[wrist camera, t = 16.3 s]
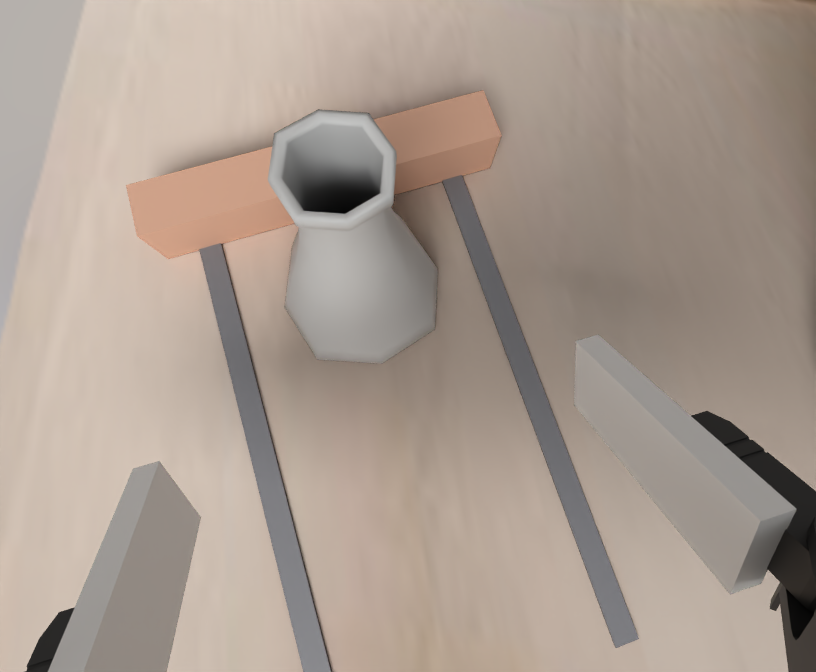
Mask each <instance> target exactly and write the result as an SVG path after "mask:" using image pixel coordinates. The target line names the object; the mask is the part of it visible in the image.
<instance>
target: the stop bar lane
mask: <svg viewBox="0 0 816 672" xmlns="http://www.w3.org/2000/svg"><path fill="white" fill-rule="evenodd" d="M373 120H374V121H375V122H376V124H377V125H378V127H379V128H380V129H381V131H382V132H383V134H384V135H385V136H386V138H387V139H388V140H389V142H390V143H391V145H392V146H393V147H394V149H395V150H396V154H397V160H396V173H395V187H394V195H396V194H400V193H403V192H407V191H410V190H414V189H418V188H421V187H425V186H428V185H432V184H435V183H439V182H443V185H444V187H445V190H446V193H447V195H448V198H449V201H450V203H451V206H452V209H453V211H454V214H455V217H456V220H457V222H458V225H459V228H460V230H461V233H462V236H463V238H464V241H465V244H466V246H467V249H468V252H469V255H470V257H471V260H472V263H473V265H474V268H475V271H476V273H477V276H478V279H479V282H480V284H481V287H482V290H483V292H484V295H485V298H486V300H487V303H488V306H489V308H490V311H491V314H492V317H493V319H494V322H495V325H496V327H497V330H498V333H499V335H500V338H501V341H502V344H503V346H504V349H505V352H506V354H507V357H508V360H509V362H510V365H511V368H512V370H513V373H514V376H515V379H516V381H517V384H518V387H519V389H520V392H521V395H522V397H523V400H524V403H525V405H526V408H527V411H528V414H529V416H530V419H531V422H532V424H533V427H534V430H535V432H536V435H537V438H538V441H539V443H540V446H541V449H542V451H543V454H544V457H545V459H546V462H547V465H548V467H549V470H550V473H551V476H552V478H553V481H554V484H555V486H556V489H557V492H558V494H559V497H560V500H561V503H562V505H563V508H564V511H565V513H566V516H567V519H568V521H569V524H570V527H571V529H572V532H573V535H574V538H575V540H576V543H577V546H578V548H579V551H580V554H581V556H582V559H583V562H584V564H585V567H586V570H587V573H588V575H589V578H590V581H591V583H592V586H593V589H594V591H595V594H596V597H597V600H598V602H599V605H600V608H601V610H602V613H603V616H604V618H605V621H606V624H607V626H608V629H609V632H610V635H611V637H612V640H613V643H614V645H615V647H616V648H617V647H620V646H622V645H625V644H627V643H630V642H632V641H635V640H637V639H639V638H638V635H637V633H636V630H635V627H634V625H633V622H632V620H631V617H630V614H629V612H628V609H627V606H626V604H625V601H624V599H623V596H622V593H621V591H620V588H619V586H618V583H617V580H616V578H615V575H614V572H613V570H612V567H611V565H610V562H609V559H608V557H607V554H606V551H605V549H604V546H603V544H602V541H601V538H600V536H599V533H598V531H597V528H596V525H595V523H594V520H593V517H592V515H591V512H590V510H589V507H588V504H587V502H586V499H585V496H584V494H583V491H582V489H581V486H580V483H579V481H578V478H577V475H576V473H575V470H574V468H573V465H572V462H571V460H570V457H569V455H568V452H567V449H566V447H565V444H564V441H563V439H562V436H561V434H560V431H559V428H558V426H557V423H556V420H555V418H554V415H553V413H552V410H551V407H550V405H549V402H548V399H547V397H546V394H545V392H544V389H543V386H542V384H541V381H540V379H539V376H538V373H537V371H536V368H535V365H534V363H533V360H532V358H531V355H530V352H529V350H528V347H527V344H526V342H525V339H524V337H523V334H522V331H521V329H520V326H519V323H518V321H517V318H516V316H515V313H514V310H513V308H512V305H511V303H510V300H509V297H508V295H507V292H506V289H505V287H504V284H503V282H502V279H501V276H500V274H499V271H498V268H497V266H496V263H495V261H494V258H493V255H492V253H491V250H490V247H489V245H488V242H487V240H486V237H485V234H484V232H483V229H482V227H481V224H480V221H479V219H478V216H477V213H476V211H475V208H474V206H473V203H472V200H471V198H470V195H469V192H468V190H467V187H466V185H465V182H464V179H463V177H462V176H464V175H467V174H471V173H474V172H478V171H481V170H485V169H488V168H490V166H491V164H492V161H493V158H494V155H495V153H496V150H497V147H498V144H499V142H500V139H501V136H502V135H501V132H500V130H499V127H498V125H497V123H496V120H495V118H494V115H493V113H492V110H491V108H490V105H489V103H488V100H487V98H486V96H485V93H484V91H483V90H482V91H478V92H474V93H470V94H467V95H463V96H459V97H455V98H452V99H448V100H444V101H440V102H437V103H433V104H429V105H425V106H422V107H418V108H414V109H410V110H407V111H403V112H399V113H395V114H392V115H388V116H384V117H380V118H377V119H373ZM271 152H272V146H271V147H268V148H264V149H260V150H256V151H253V152H249V153H245V154H241V155H238V156H234V157H230V158H226V159H223V160H219V161H215V162H211V163H208V164H204V165H200V166H196V167H193V168H189V169H185V170H181V171H178V172H174V173H170V174H166V175H163V176H159V177H155V178H151V179H148V180H144V181H140V182H136V183H133V184H129V185H126V187H127V192H128V197H129V201H130V206H131V210H132V215H133V219H134V224H135V229H136V233H137V236H138V237H139V238H140V239H142V240H143V241H144V242H146V243H147V244H148V245H150V246H151V247H153V248H154V249H155V250H157V251H158V252H159V253H161V254H162V255H164V256H165V257H166V258H168V259H170V258H174V257H177V256H181V255H184V254H188V253H191V252H195V251H198V250H200V254H201V258H202V262H203V266H204V270H205V274H206V278H207V282H208V286H209V290H210V294H211V298H212V302H213V307H214V311H215V315H216V319H217V323H218V327H219V331H220V335H221V339H222V343H223V347H224V351H225V355H226V359H227V363H228V367H229V371H230V376H231V380H232V384H233V388H234V392H235V396H236V400H237V404H238V408H239V412H240V416H241V420H242V424H243V428H244V432H245V436H246V440H247V445H248V449H249V453H250V457H251V461H252V465H253V469H254V473H255V477H256V481H257V485H258V489H259V493H260V497H261V501H262V505H263V509H264V514H265V518H266V522H267V526H268V530H269V534H270V538H271V542H272V546H273V550H274V554H275V558H276V562H277V566H278V570H279V574H280V578H281V583H282V587H283V591H284V595H285V599H286V603H287V607H288V611H289V615H290V619H291V623H292V627H293V631H294V635H295V639H296V643H297V647H298V652H299V656H300V660H301V664H302V668H303V672H331V668H330V664H329V660H328V657H327V653H326V649H325V645H324V641H323V637H322V633H321V629H320V625H319V622H318V618H317V614H316V610H315V606H314V602H313V598H312V594H311V590H310V587H309V583H308V579H307V575H306V571H305V567H304V563H303V559H302V555H301V552H300V548H299V544H298V540H297V536H296V532H295V528H294V524H293V520H292V517H291V513H290V509H289V505H288V501H287V497H286V493H285V489H284V485H283V482H282V478H281V474H280V470H279V466H278V462H277V458H276V454H275V450H274V447H273V443H272V439H271V435H270V431H269V427H268V423H267V419H266V415H265V412H264V408H263V404H262V400H261V396H260V392H259V388H258V384H257V380H256V377H255V373H254V369H253V365H252V361H251V357H250V353H249V349H248V345H247V342H246V338H245V334H244V330H243V326H242V322H241V318H240V314H239V311H238V307H237V303H236V299H235V295H234V291H233V287H232V283H231V279H230V276H229V272H228V268H227V264H226V260H225V256H224V252H223V248H222V244H223V243H227V242H230V241H234V240H237V239H241V238H244V237H248V236H251V235H255V234H259V233H262V232H266V231H269V230H273V229H276V228H280V227H283V226H287V225H290V224H294V221H293V220H292V218H291V216H290V215H289V213H288V212H287V210H286V209H285V207H284V206H283V204H282V203H281V201H280V200H279V198H278V197H277V195H276V194H275V192H274V190H273V189H272V187H271V186H270V184H269V182H268V174H269V167H270V160H271Z"/></svg>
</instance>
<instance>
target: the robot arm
mask: <svg viewBox="0 0 816 672" xmlns="http://www.w3.org/2000/svg"><path fill="white" fill-rule="evenodd" d="M574 406H575V407H576V408H577V409H578V410H579V412H580V413H581V414H582V415H583V416H584V418H585V419H586V420H587V421H588V423H589V424H590V425H591V426H592V427H593V429H594V430H595V431H596V432H597V433H598V435H599V436H600V437H601V438H602V440H603V441H604V442H605V443H606V444H607V446H608V447H609V448H610V449H611V450H612V452H613V453H614V454H615V455H616V457H617V458H618V459H619V460H620V461H621V463H622V464H623V465H624V466H625V467H626V469H627V470H628V471H629V472H630V473H631V475H632V476H633V477H634V478H635V480H636V481H637V482H638V483H639V484H640V486H641V487H642V488H643V489H644V490H645V492H646V493H647V494H648V495H649V497H650V498H651V499H652V500H653V501H654V503H655V504H656V505H657V506H658V507H659V509H660V510H661V511H662V512H663V514H664V515H665V516H666V517H667V518H668V520H669V521H670V522H671V523H672V524H673V526H674V527H675V528H676V529H677V531H678V532H679V533H680V534H681V535H682V537H683V538H684V539H685V540H686V541H687V543H688V544H689V545H690V546H691V548H692V549H693V550H694V551H695V552H696V554H697V555H698V556H699V557H700V558H701V560H702V561H703V562H704V563H705V565H706V566H707V567H708V568H709V569H710V571H711V572H712V573H713V574H714V575H715V577H716V578H717V579H718V580H719V582H720V583H721V584H722V585H723V586H724V588H725V589H726V590H727V591H728V592H729V594H733V593H735V592H738V591H741V590H744V589H747V588H750V587H753V586H756V585H759V584H761V583H762V580H763V578H764V576H765V574H766V572H767V570H769V571H770V572H771V573H772V574H773V575H774V576H775V577H776V578H777V579H778V580H779V581H780V584H779V586H778V587H777V589H776V591H775V593H774V595H773V597H772V599H771V604H770V609H772V610H775V611H776V610H777V608H778V606H779V604H780V606H781V614H782V622H783V630H784V638H785V646H786V654H787V662H788V670H789V672H816V491H815V490H813V489H812V488H811V487H810V486H809V485H807V484H806V483H805V482H804V481H802V480H801V479H800V478H799V477H797V476H796V475H795V474H794V473H793V472H791V471H790V470H789V469H788V468H786V467H785V466H784V465H783V464H781V463H780V462H779V461H778V460H777V459H775V458H774V457H773V456H772V455H770V454H769V453H768V452H767V453H766V452H765V451H764V449H763V448H762V447H761V446H759V445H758V444H757V443H756V442H754V441H753V440H750V439H749V437H748V436H747V435H746V434H745V433H743V432H742V431H741V430H740V429H738V428H737V427H736V426H735V425H733V424H732V423H731V422H730V421H727V420H725V419H723V418H721V417H719V416H717V415H715V414H712V413H710V412H708V411H705V412H702V413H699V414H695V415H692V416H690V415H689V414H688V413H687V412H686V411H685V410H683V409H682V408H681V407H680V406H679V405H678V404H677V403H676V402H674V401H673V400H672V399H671V398H670V397H669V396H668V395H666V394H665V393H664V392H663V391H662V390H661V389H660V388H658V387H657V386H656V385H655V384H654V383H653V382H652V381H651V380H649V379H648V378H647V377H646V376H645V375H644V374H643V373H641V372H640V371H639V370H638V369H637V368H636V367H635V366H633V365H632V364H631V363H630V362H629V361H628V360H627V359H625V358H624V357H623V356H622V355H621V354H620V353H619V352H618V351H616V350H615V349H614V348H613V347H612V346H611V345H610V344H608V343H607V342H606V341H605V340H604V339H603V338H602V337H600V336H599V335H595V336H592V337H588V338H585V339H581V340H578V341H576V353H575V393H574ZM200 519H201V517H200V515H199V514H198V513H197V511H196V510H195V509H194V507H193V506H192V505H191V503H190V502H189V501H188V499H187V498H186V497H185V495H184V494H183V492H182V491H181V490H180V488H179V487H178V486H177V484H176V483H175V482H174V480H173V479H172V478H171V476H170V475H169V473H168V472H167V471H166V469H165V468H164V467H163V465H162V464H161V463H160V461H158V462H155V463H151V464H148V465H144V466H141V467H138V468H134V469H133V470H132V473H131V475H130V477H129V480H128V482H127V485H126V487H125V489H124V492H123V494H122V496H121V499H120V501H119V504H118V506H117V508H116V511H115V513H114V515H113V518H112V520H111V523H110V525H109V527H108V530H107V532H106V534H105V537H104V539H103V542H102V544H101V546H100V549H99V551H98V554H97V556H96V558H95V561H94V563H93V565H92V568H91V570H90V573H89V575H88V577H87V580H86V582H85V584H84V587H83V589H82V592H81V594H80V596H79V599H78V601H77V603H76V606H75V608H71V609H68V610H65V611H62V612H59V613H58V615H57V616H56V617H55V619H54V620H53V621H52V623H51V624H50V625H49V627H48V628H47V629H46V631H45V632H44V633H43V635H42V636H41V637H40V639H39V641H38V643H37V645H36V647H35V649H34V651H33V654H32V656H31V658H30V660H29V662H28V664H27V671H25V672H167V667H168V663H169V658H170V654H171V649H172V645H173V640H174V636H175V631H176V627H177V622H178V618H179V613H180V609H181V604H182V600H183V595H184V591H185V586H186V582H187V577H188V573H189V568H190V564H191V559H192V555H193V550H194V546H195V541H196V537H197V532H198V528H199V523H200Z"/></svg>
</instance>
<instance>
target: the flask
mask: <svg viewBox="0 0 816 672" xmlns="http://www.w3.org/2000/svg"><path fill="white" fill-rule="evenodd" d="M396 160H397V154H396V150H395V149H394V147H393V146H392V145H391V143H390V142H389V140H388V139H387V138H386V136H385V135H384V134H383V132H382V131H381V129H380V128H379V127H378V125H377V124H376V122H375V121H374V120H373V118H372V117H371V116H370V114H369V113H361V112H347V111H333V110H319V109H318V110H316V111H315V112H313V113H311V114H309V115H307V116H305V117H303V118H302V119H300V120H298V121H296V122H294V123H292V124H290V125H289V126H287V127H285V128H283V129H281V130H279V131H278V132H276V133H274V138H273V145H272V152H271V160H270V167H269V174H268V182H269V184H270V186H271V187H272V189H273V190H274V192H275V194H276V195H277V197H278V198H279V200H280V201H281V203H282V204H283V206H284V207H285V209H286V210H287V212H288V213H289V215H290V216H291V218H292V220H293V221H294V223H295V224H296V226H298V228H299V230H298V233H297V235H296V237H295V240H294V242H293V245H292V249H291V258H290V266H289V274H288V282H287V290H286V299H285V309H286V310H287V312H288V314H289V315H290V317H291V318H292V320H293V322H294V323H295V325H296V326H297V328H298V330H299V331H300V333H301V334H302V336H303V338H304V339H305V341H306V342H307V344H308V346H309V347H310V349H311V350H312V352H313V354H314V355H315V357H316V358H317V360H333V361H348V362H364V363H380V364H382V363H384V362H385V361H387V360H388V359H390V358H391V357H393V356H394V355H396V354H397V353H399V352H401V351H402V350H404V349H405V348H407V347H408V346H410V345H411V344H413V343H415V342H416V341H418V340H419V339H421V338H422V337H424V336H425V335H427V334H429V333H430V332H432V331H433V330H435V320H436V299H437V279H438V269H437V267H436V266H435V265H434V263H433V262H432V260H431V259H430V257H429V256H428V255H427V253H426V252H425V250H424V249H423V247H422V246H421V245H420V243H419V242H418V240H417V239H416V238H415V236H414V235H413V233H412V232H411V230H410V229H409V228H408V226H407V225H406V223H405V222H404V221H403V219H402V218H401V217H400V216H398V215H397V214H396V213H395V212H394V211H393V210H392V207H391V206H392V205H393V201H394V187H395V173H396Z"/></svg>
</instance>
